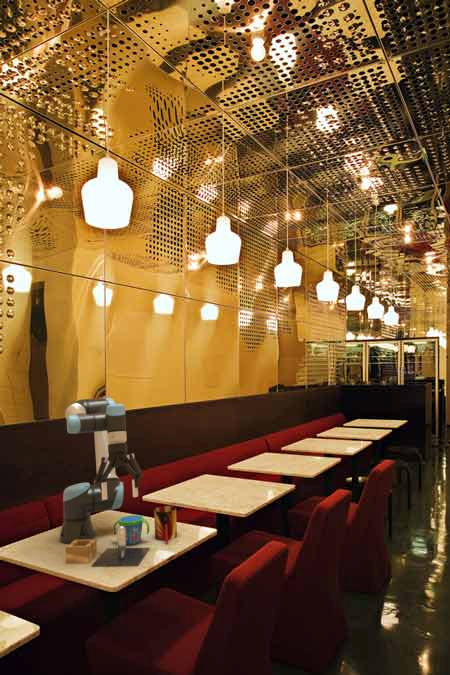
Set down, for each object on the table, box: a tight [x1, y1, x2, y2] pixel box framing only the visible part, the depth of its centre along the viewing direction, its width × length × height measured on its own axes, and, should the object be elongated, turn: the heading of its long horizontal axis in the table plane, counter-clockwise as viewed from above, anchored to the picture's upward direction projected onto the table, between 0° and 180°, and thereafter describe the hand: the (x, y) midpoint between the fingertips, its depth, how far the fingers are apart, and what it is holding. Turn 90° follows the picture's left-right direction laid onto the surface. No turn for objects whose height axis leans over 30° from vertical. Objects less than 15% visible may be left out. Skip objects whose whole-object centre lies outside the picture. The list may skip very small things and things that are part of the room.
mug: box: [153, 505, 178, 543], centre depth 206 cm, size 10×14×12 cm
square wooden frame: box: [65, 538, 98, 565], centre depth 186 cm, size 9×9×6 cm
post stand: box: [91, 525, 151, 568], centre depth 186 cm, size 18×18×12 cm
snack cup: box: [112, 514, 150, 546], centre depth 203 cm, size 16×10×10 cm
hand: (120, 498), depth 183 cm, fingers open, 13 cm apart
